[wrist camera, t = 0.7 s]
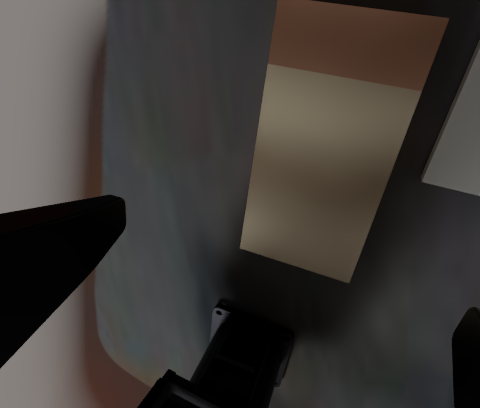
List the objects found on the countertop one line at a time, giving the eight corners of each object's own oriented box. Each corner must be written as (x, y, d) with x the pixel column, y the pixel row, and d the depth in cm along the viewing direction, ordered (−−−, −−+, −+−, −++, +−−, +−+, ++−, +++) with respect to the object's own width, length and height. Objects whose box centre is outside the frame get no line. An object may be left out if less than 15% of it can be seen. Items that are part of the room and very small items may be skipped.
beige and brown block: (353, 242, 21) (349, 283, 17) (260, 215, 22) (239, 248, 19) (433, 20, 15) (449, 18, 11) (298, 2, 16) (278, -5, 13)
